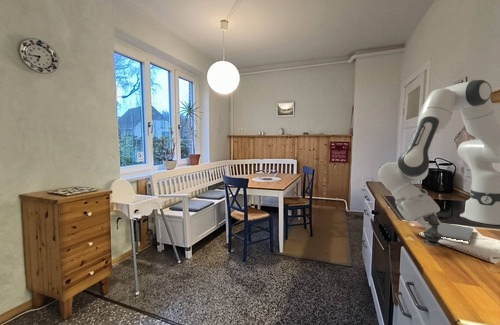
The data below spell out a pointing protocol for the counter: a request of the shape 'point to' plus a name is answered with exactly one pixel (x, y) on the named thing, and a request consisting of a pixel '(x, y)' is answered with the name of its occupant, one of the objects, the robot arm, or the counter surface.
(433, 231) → the black rounded upright piece
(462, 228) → the slate board
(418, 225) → the peach domed round part
